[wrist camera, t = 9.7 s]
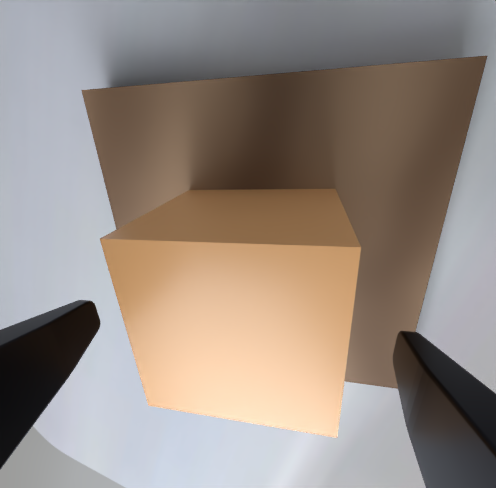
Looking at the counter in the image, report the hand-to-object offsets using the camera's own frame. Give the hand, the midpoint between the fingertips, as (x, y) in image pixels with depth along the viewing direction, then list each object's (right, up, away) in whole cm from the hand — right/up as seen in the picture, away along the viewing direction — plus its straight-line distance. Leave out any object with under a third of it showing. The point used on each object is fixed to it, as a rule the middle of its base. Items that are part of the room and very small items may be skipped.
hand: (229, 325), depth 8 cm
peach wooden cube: (+1, +2, +4) cm, 5 cm away
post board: (+1, +2, +6) cm, 6 cm away
